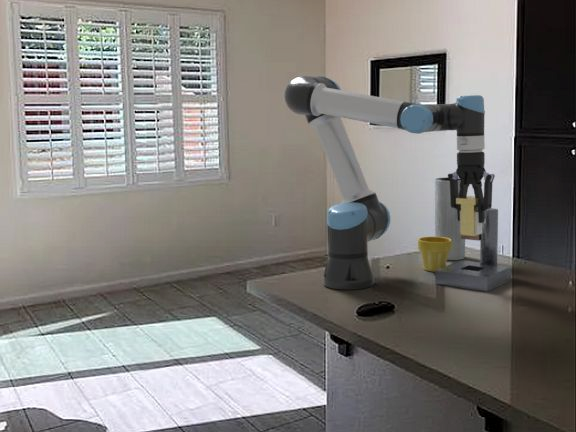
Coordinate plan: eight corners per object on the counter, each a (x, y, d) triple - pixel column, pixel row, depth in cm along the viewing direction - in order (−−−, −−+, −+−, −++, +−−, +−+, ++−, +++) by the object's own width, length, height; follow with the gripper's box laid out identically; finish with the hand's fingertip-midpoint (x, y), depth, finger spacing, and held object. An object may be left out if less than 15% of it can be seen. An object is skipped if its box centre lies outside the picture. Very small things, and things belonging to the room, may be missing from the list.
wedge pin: (456, 235, 192) (455, 198, 191) (466, 231, 196) (466, 195, 195) (475, 236, 188) (475, 199, 186) (485, 233, 192) (485, 196, 191)
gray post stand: (433, 283, 197) (433, 215, 194) (466, 269, 212) (466, 206, 210) (487, 291, 186) (487, 220, 183) (517, 276, 202) (518, 210, 199)
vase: (470, 259, 226) (470, 179, 222) (442, 261, 225) (442, 180, 221) (457, 253, 236) (457, 176, 232) (430, 255, 234) (430, 178, 230)
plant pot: (455, 267, 216) (455, 237, 214) (444, 274, 207) (444, 243, 206) (425, 264, 221) (424, 235, 220) (413, 271, 213) (412, 240, 211)
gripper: (436, 152, 192) (437, 232, 195) (492, 152, 180) (492, 238, 184) (450, 150, 197) (451, 229, 201) (505, 150, 186) (505, 233, 189)
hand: (471, 233), depth 192 cm, fingers closed on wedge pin, 4 cm apart
